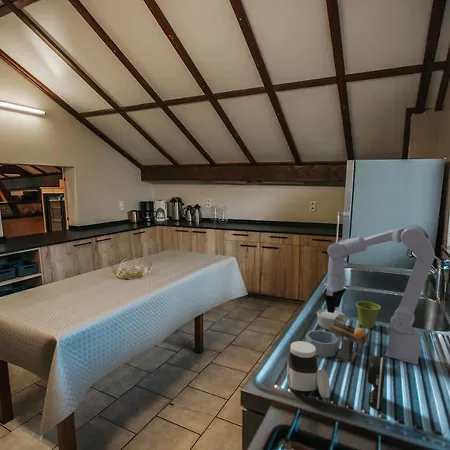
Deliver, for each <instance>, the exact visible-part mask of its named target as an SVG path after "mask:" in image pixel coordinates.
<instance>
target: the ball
mask: <svg viewBox="0 0 450 450" xmlns="http://www.w3.org/2000/svg"><path fill="white" fill-rule="evenodd" d="M353 330H354V335H355V337H358V338H360V339H363V338H364V337H365V335H366V333H367V332H366V330H365V328H362V327H357V328H355V329H353Z"/></svg>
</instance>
